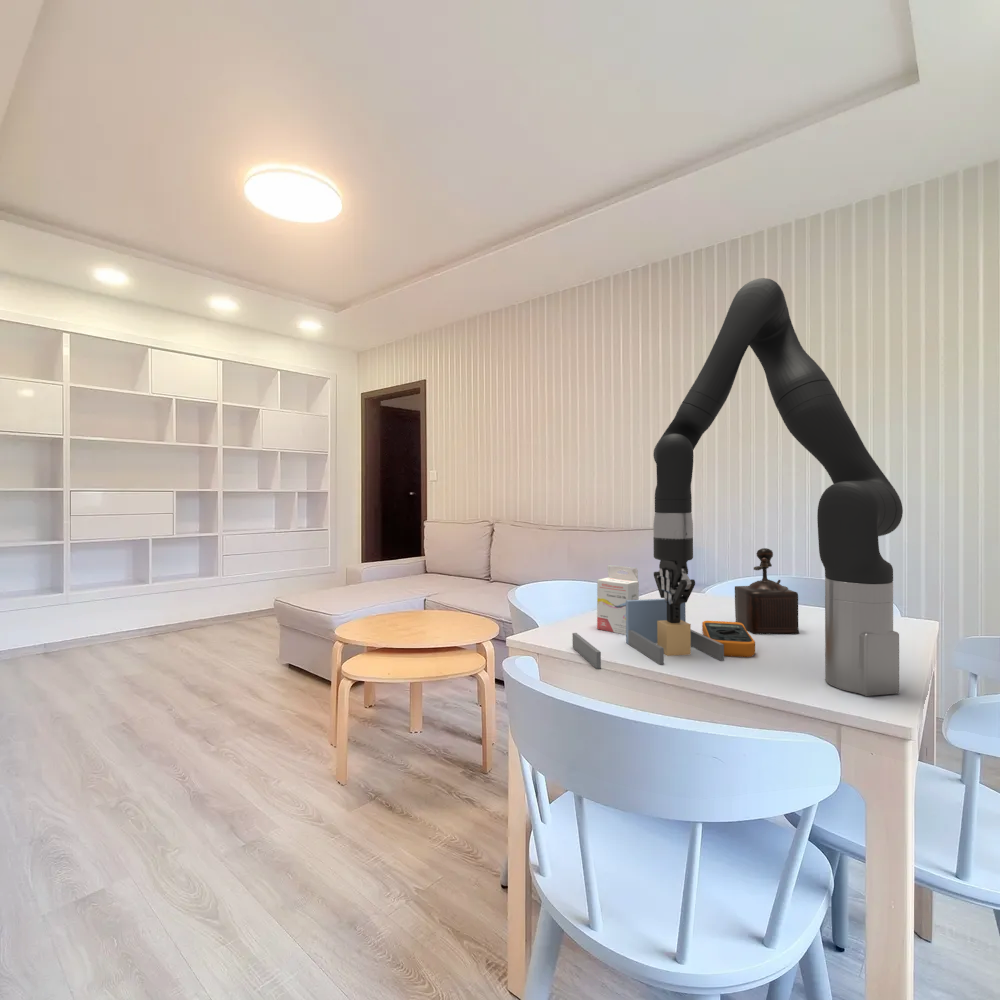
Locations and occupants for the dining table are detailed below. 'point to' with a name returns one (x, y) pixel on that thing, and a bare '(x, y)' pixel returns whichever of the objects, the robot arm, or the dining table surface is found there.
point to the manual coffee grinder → (766, 603)
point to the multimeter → (730, 637)
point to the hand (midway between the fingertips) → (673, 622)
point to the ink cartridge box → (616, 598)
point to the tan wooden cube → (674, 637)
